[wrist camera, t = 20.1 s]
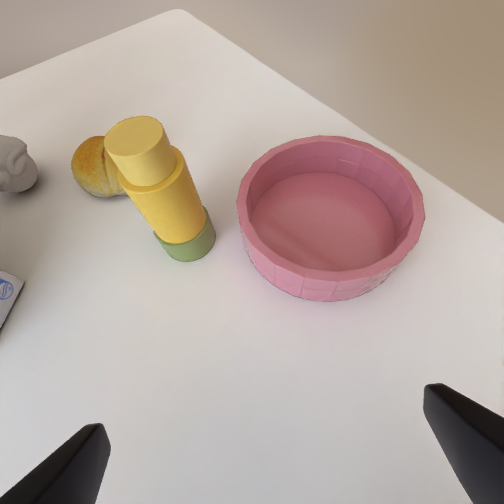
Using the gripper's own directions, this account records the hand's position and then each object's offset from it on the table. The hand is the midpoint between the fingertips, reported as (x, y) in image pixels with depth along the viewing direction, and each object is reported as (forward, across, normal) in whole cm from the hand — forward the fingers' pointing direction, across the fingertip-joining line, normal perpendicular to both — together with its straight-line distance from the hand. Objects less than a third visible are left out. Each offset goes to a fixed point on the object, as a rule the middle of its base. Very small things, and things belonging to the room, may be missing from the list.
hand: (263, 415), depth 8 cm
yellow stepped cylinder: (+20, +6, -1) cm, 21 cm away
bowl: (+20, -6, 0) cm, 21 cm away
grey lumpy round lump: (+28, +26, -8) cm, 39 cm away
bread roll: (+28, +14, -8) cm, 32 cm away
